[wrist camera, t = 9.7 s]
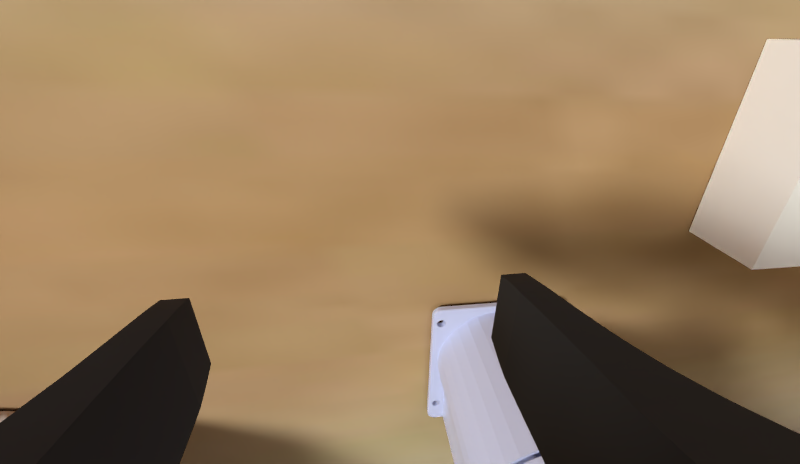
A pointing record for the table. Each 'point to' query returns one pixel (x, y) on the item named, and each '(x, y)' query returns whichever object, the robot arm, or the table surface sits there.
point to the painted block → (759, 169)
